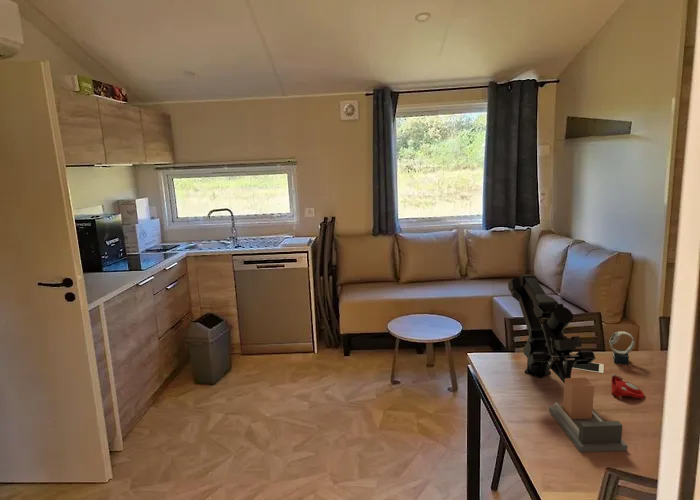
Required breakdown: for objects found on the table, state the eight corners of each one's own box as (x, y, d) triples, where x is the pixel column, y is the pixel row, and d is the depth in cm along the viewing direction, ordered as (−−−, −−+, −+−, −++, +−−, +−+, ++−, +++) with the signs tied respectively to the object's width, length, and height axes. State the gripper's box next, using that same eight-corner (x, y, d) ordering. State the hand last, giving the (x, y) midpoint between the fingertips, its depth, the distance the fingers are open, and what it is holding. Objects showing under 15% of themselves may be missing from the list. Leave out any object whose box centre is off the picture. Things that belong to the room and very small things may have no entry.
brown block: (563, 410, 141) (564, 378, 139) (583, 409, 141) (585, 377, 139) (570, 419, 136) (572, 386, 134) (592, 418, 136) (594, 385, 134)
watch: (607, 356, 179) (609, 328, 176) (632, 359, 175) (634, 330, 173) (608, 362, 174) (610, 333, 171) (633, 365, 170) (636, 336, 168)
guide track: (549, 411, 144) (549, 391, 142) (589, 409, 144) (590, 389, 142) (580, 452, 124) (581, 429, 123) (627, 450, 124) (629, 427, 123)
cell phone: (555, 358, 180) (555, 356, 180) (603, 365, 172) (603, 364, 172) (552, 366, 173) (552, 365, 173) (603, 374, 166) (603, 373, 166)
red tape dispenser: (651, 392, 150) (635, 394, 145) (645, 404, 151) (628, 406, 146) (616, 370, 160) (599, 371, 155) (610, 381, 161) (593, 382, 156)
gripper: (532, 327, 146) (545, 378, 137) (594, 325, 145) (611, 376, 137) (522, 342, 155) (533, 390, 146) (580, 340, 155) (595, 388, 146)
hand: (568, 386), depth 144 cm, fingers closed
